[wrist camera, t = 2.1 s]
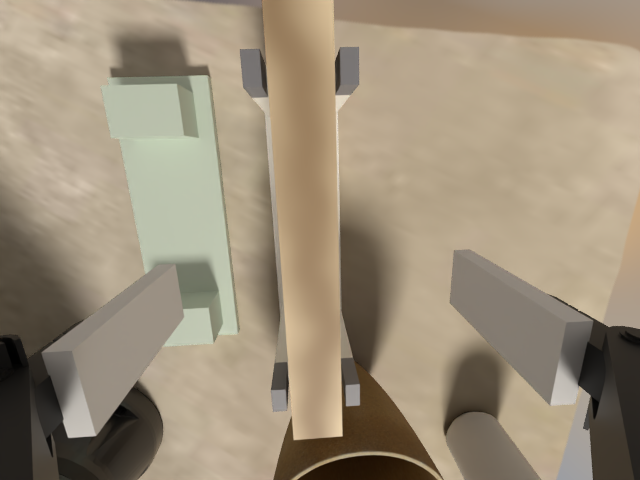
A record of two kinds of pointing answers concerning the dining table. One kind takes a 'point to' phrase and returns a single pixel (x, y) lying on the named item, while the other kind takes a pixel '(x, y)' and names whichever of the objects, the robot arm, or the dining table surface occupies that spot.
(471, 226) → the dining table surface
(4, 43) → the dining table surface
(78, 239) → the dining table surface
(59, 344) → the robot arm
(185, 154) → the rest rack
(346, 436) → the plant pot
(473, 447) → the can
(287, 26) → the rail
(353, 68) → the stand
